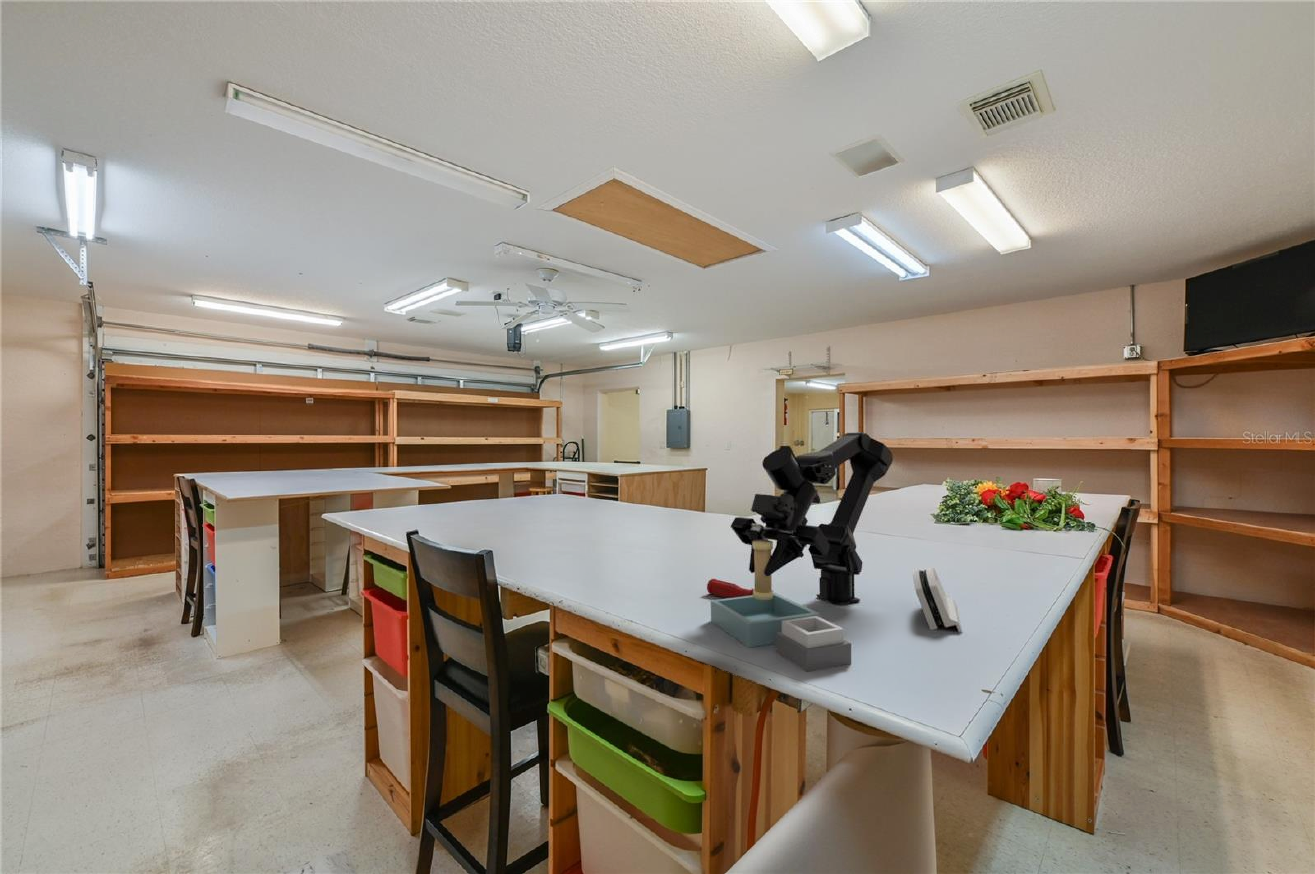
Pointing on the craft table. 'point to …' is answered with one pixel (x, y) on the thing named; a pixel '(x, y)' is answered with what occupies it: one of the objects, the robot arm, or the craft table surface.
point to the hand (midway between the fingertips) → (758, 573)
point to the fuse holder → (813, 643)
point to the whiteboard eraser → (935, 600)
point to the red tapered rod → (727, 589)
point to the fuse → (762, 569)
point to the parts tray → (756, 617)
